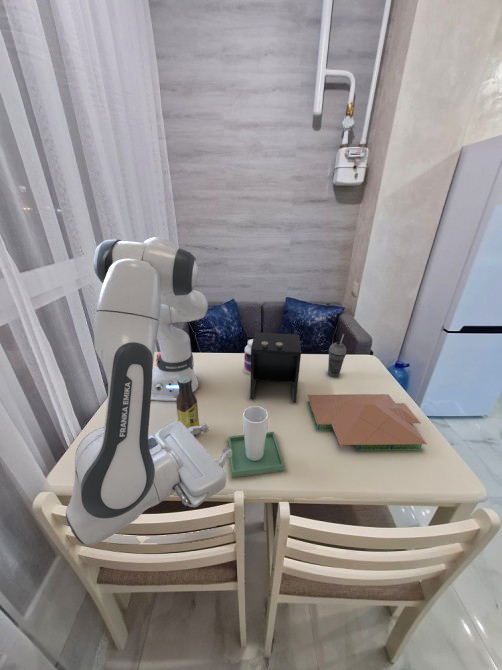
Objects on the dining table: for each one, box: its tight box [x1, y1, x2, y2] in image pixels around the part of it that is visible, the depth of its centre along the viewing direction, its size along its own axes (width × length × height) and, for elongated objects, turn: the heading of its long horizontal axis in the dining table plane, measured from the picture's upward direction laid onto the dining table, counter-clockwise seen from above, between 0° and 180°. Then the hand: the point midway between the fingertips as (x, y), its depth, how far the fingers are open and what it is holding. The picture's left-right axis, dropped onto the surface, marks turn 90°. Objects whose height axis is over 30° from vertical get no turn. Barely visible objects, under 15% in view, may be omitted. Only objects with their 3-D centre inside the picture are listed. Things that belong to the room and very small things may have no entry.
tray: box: [227, 431, 285, 478], centre depth 76 cm, size 14×12×2 cm
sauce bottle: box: [175, 376, 200, 437], centre depth 80 cm, size 7×6×20 cm
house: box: [307, 393, 428, 451], centre depth 86 cm, size 23×33×8 cm
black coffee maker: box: [249, 331, 302, 404], centre depth 99 cm, size 14×17×23 cm
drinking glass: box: [242, 405, 269, 461], centre depth 73 cm, size 7×7×15 cm
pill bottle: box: [243, 338, 254, 375], centre depth 113 cm, size 8×8×14 cm
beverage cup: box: [327, 333, 347, 379], centre depth 110 cm, size 7×7×20 cm
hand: (218, 438), depth 62 cm, fingers open, 8 cm apart
